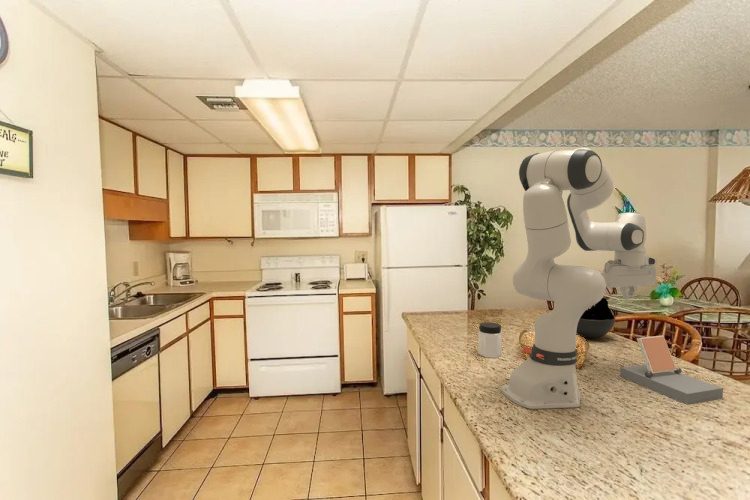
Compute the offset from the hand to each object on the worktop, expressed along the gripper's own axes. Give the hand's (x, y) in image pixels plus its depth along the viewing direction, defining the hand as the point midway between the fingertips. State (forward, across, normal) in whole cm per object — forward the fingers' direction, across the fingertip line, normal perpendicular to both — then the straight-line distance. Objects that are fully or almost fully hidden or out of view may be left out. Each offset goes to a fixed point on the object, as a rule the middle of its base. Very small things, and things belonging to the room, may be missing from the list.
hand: (628, 299), depth 130 cm
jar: (+25, -37, +27) cm, 52 cm away
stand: (+25, 0, -14) cm, 29 cm away
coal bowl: (+25, +20, +36) cm, 48 cm away
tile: (+16, 0, -10) cm, 19 cm away
